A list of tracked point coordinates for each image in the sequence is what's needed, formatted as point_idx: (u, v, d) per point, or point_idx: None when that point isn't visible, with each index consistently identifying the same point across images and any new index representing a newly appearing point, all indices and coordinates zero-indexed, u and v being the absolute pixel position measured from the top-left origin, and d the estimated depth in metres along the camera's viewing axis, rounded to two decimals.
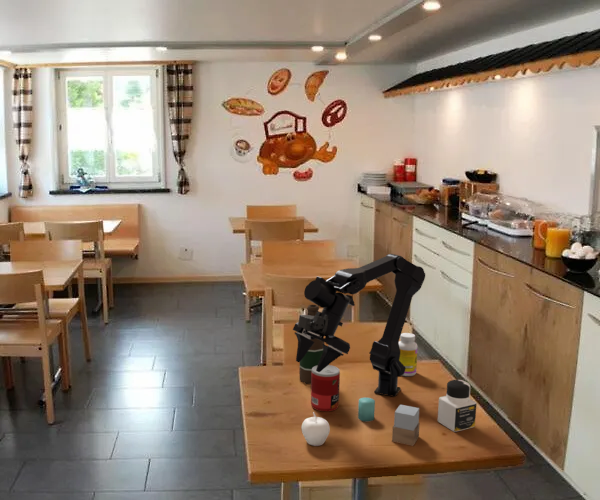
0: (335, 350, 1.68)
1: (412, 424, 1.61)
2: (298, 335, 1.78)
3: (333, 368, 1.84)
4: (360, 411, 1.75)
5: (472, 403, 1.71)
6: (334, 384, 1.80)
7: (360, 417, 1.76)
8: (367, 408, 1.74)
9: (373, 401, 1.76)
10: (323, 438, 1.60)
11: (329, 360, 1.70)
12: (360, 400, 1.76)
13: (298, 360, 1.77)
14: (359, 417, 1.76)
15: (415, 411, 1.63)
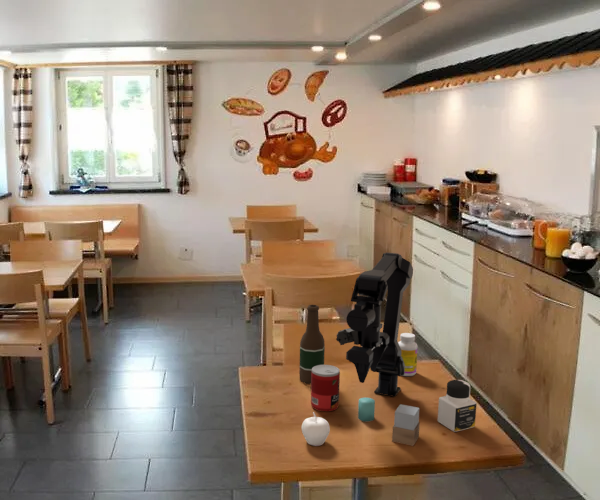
0: (355, 361, 1.67)
1: (412, 424, 1.62)
2: None
3: (333, 368, 1.84)
4: (360, 411, 1.75)
5: (472, 403, 1.71)
6: (334, 384, 1.80)
7: (360, 417, 1.76)
8: (367, 408, 1.74)
9: (373, 401, 1.76)
10: (323, 438, 1.60)
11: (364, 370, 1.68)
12: (360, 400, 1.76)
13: (372, 369, 1.79)
14: (359, 417, 1.76)
15: (415, 411, 1.63)
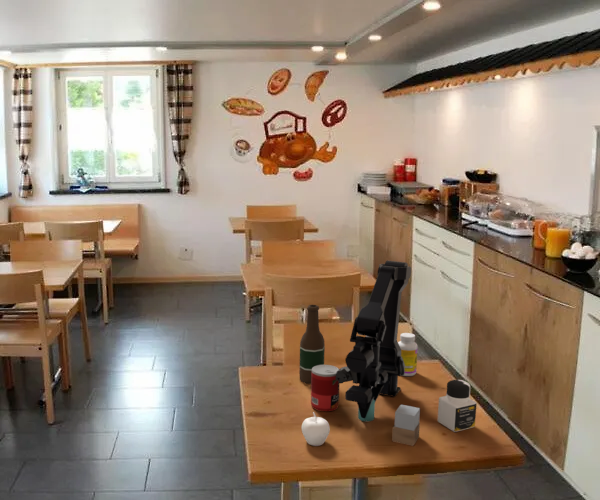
0: None
1: (412, 424, 1.61)
2: None
3: (333, 368, 1.84)
4: None
5: (472, 403, 1.71)
6: (334, 384, 1.80)
7: (360, 417, 1.76)
8: None
9: (373, 401, 1.76)
10: (323, 438, 1.60)
11: (365, 406, 1.73)
12: None
13: None
14: (359, 417, 1.76)
15: (416, 411, 1.63)
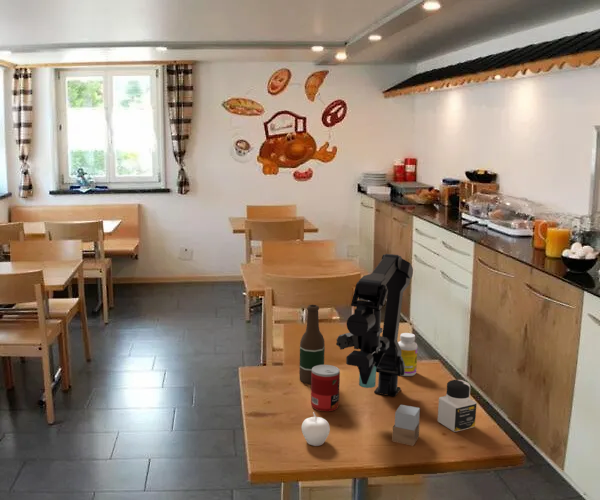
0: None
1: (413, 424, 1.62)
2: None
3: (333, 368, 1.84)
4: None
5: (472, 403, 1.71)
6: (334, 384, 1.80)
7: (361, 383, 1.74)
8: None
9: (374, 367, 1.74)
10: (323, 438, 1.60)
11: (366, 372, 1.71)
12: None
13: None
14: (360, 383, 1.74)
15: (416, 411, 1.63)
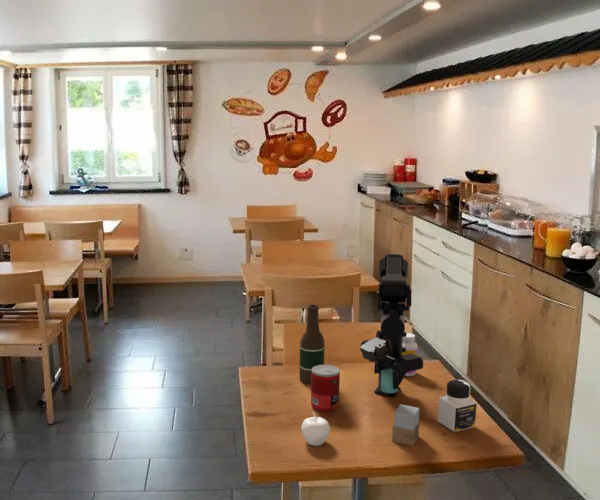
0: None
1: (412, 424, 1.61)
2: None
3: (333, 368, 1.84)
4: (391, 383, 1.65)
5: (472, 403, 1.71)
6: (334, 384, 1.80)
7: (391, 390, 1.66)
8: None
9: None
10: (323, 438, 1.60)
11: (401, 375, 1.65)
12: (386, 373, 1.66)
13: None
14: (389, 390, 1.66)
15: (415, 411, 1.63)
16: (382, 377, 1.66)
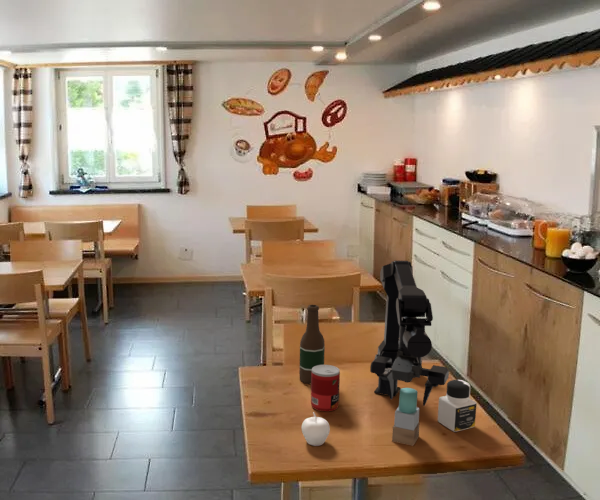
0: None
1: (412, 424, 1.61)
2: (385, 377, 1.62)
3: (333, 368, 1.84)
4: (414, 403, 1.62)
5: (472, 403, 1.71)
6: (334, 384, 1.80)
7: (414, 409, 1.62)
8: None
9: (408, 388, 1.65)
10: (323, 438, 1.60)
11: (430, 390, 1.62)
12: (409, 393, 1.61)
13: (392, 397, 1.65)
14: (412, 410, 1.62)
15: None
16: (405, 398, 1.62)
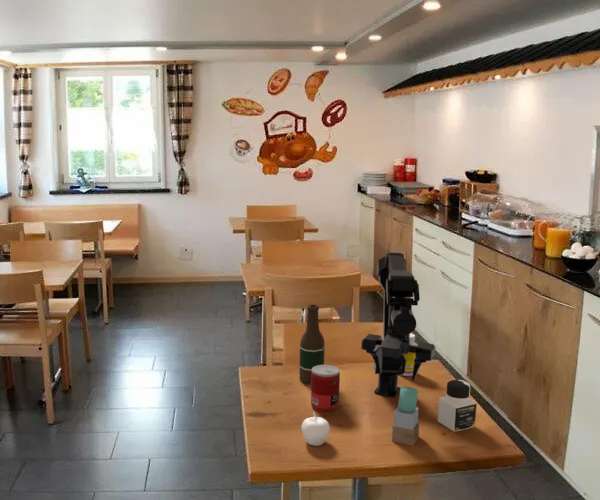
0: None
1: (412, 423, 1.62)
2: (373, 353, 1.72)
3: (333, 368, 1.84)
4: (413, 402, 1.62)
5: (472, 403, 1.71)
6: (334, 384, 1.80)
7: (412, 408, 1.62)
8: (417, 395, 1.63)
9: (410, 387, 1.65)
10: (323, 438, 1.60)
11: (419, 365, 1.71)
12: (408, 391, 1.62)
13: (380, 372, 1.75)
14: (410, 409, 1.62)
15: None
16: (404, 396, 1.62)
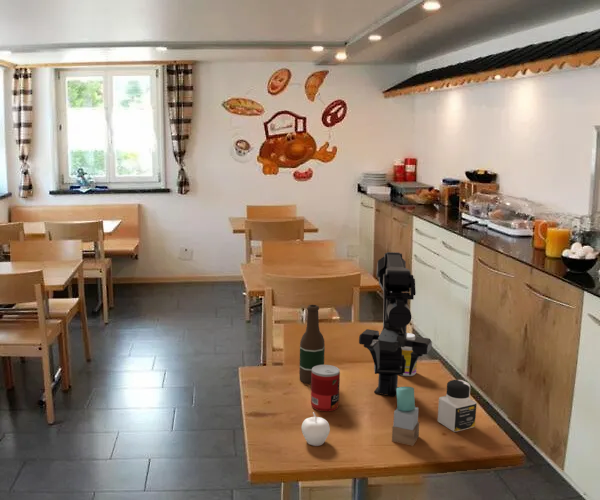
0: None
1: (411, 424, 1.62)
2: (371, 348, 1.74)
3: (333, 368, 1.84)
4: (406, 400, 1.62)
5: (472, 403, 1.71)
6: (334, 384, 1.80)
7: (406, 407, 1.62)
8: (412, 394, 1.62)
9: (410, 387, 1.65)
10: (323, 438, 1.60)
11: (416, 360, 1.73)
12: (400, 390, 1.63)
13: (378, 367, 1.77)
14: (404, 408, 1.62)
15: (414, 411, 1.64)
16: (397, 394, 1.64)
